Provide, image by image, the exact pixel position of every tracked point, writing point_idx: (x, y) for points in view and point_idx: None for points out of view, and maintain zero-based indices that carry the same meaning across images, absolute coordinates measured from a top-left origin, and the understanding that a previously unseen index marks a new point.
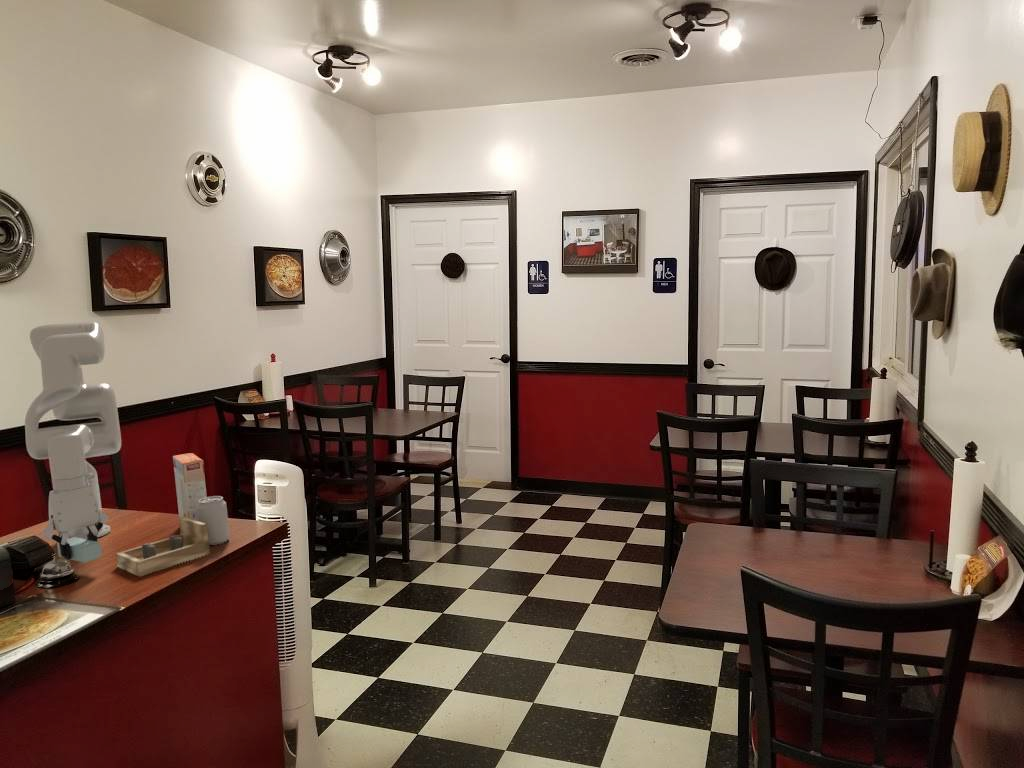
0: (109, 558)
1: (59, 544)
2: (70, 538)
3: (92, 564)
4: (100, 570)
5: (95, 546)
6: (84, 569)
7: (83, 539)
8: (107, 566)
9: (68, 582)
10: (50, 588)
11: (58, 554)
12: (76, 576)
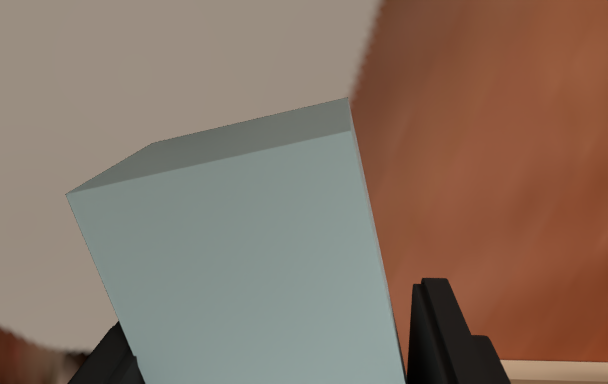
0: (591, 108)
1: (98, 241)
2: (276, 171)
3: (434, 135)
4: (399, 322)
5: None
6: None
7: (381, 371)
8: (470, 285)
9: None
10: (73, 363)
11: (144, 148)
12: None
